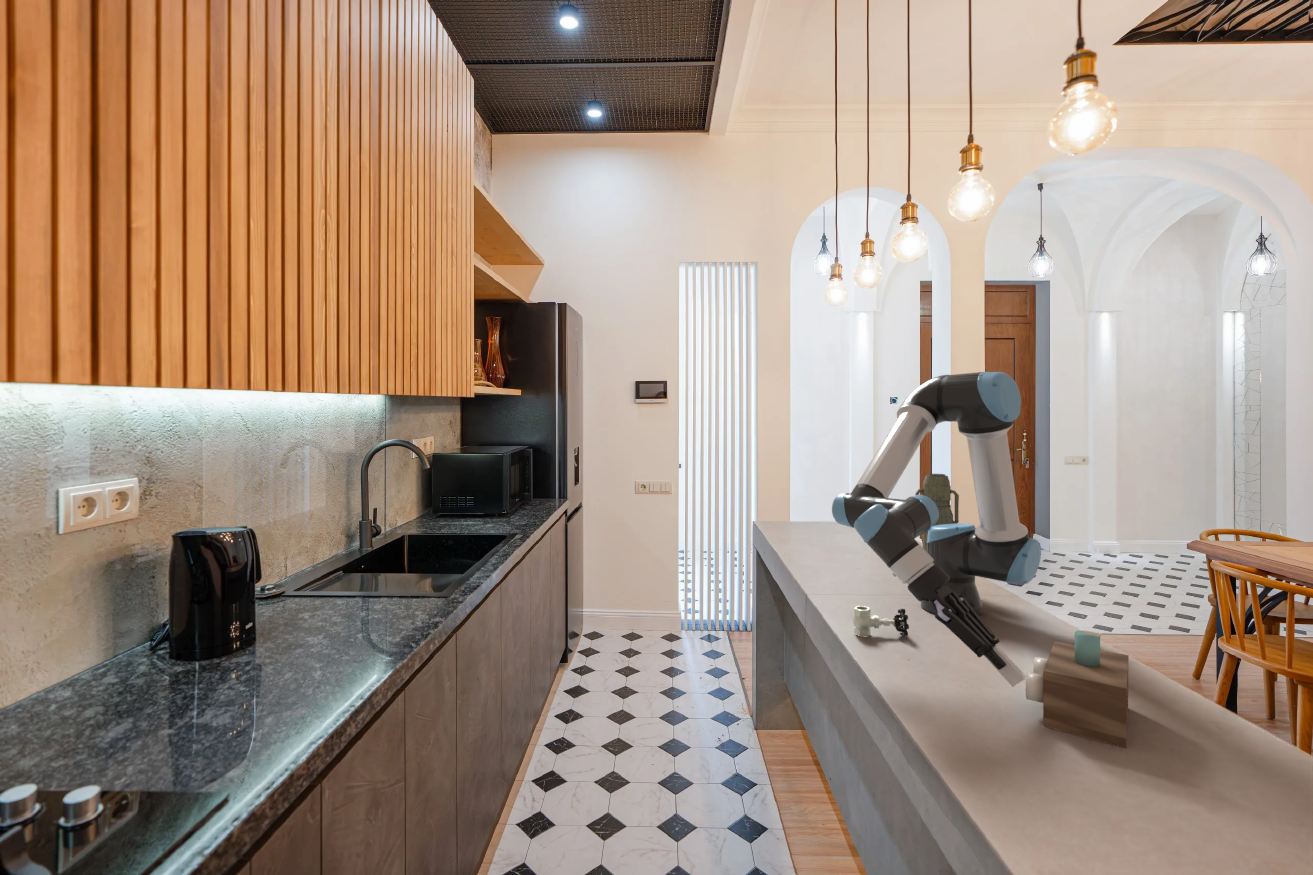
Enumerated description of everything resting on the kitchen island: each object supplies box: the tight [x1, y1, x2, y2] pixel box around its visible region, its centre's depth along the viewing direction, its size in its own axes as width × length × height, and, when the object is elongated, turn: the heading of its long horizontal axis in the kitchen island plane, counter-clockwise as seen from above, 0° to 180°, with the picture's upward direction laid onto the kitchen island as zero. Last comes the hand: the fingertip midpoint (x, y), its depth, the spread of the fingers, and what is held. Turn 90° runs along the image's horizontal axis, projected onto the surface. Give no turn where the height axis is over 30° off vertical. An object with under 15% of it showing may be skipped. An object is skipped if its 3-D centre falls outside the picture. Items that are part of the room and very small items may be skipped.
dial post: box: [1074, 629, 1102, 667], centre depth 103 cm, size 4×4×6 cm
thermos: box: [914, 473, 960, 552], centre depth 180 cm, size 9×12×35 cm
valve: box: [852, 605, 910, 637], centre depth 143 cm, size 7×7×12 cm
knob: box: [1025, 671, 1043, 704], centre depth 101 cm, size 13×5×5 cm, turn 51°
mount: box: [1042, 641, 1129, 749], centre depth 103 cm, size 16×11×10 cm, turn 141°
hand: (1019, 681), depth 106 cm, fingers closed
